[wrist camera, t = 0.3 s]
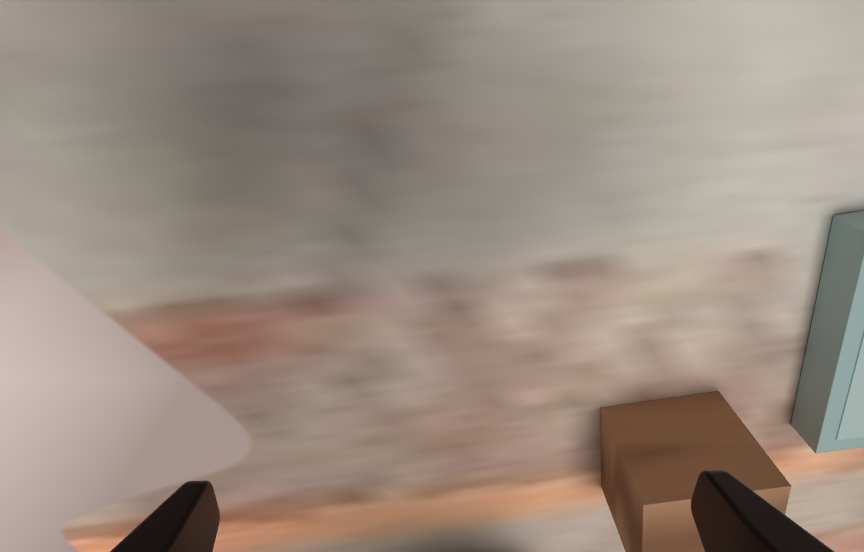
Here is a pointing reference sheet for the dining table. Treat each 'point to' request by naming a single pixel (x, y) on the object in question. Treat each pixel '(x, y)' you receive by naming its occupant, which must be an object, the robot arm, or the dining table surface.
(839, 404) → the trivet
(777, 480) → the walnut cube
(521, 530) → the dining table surface
